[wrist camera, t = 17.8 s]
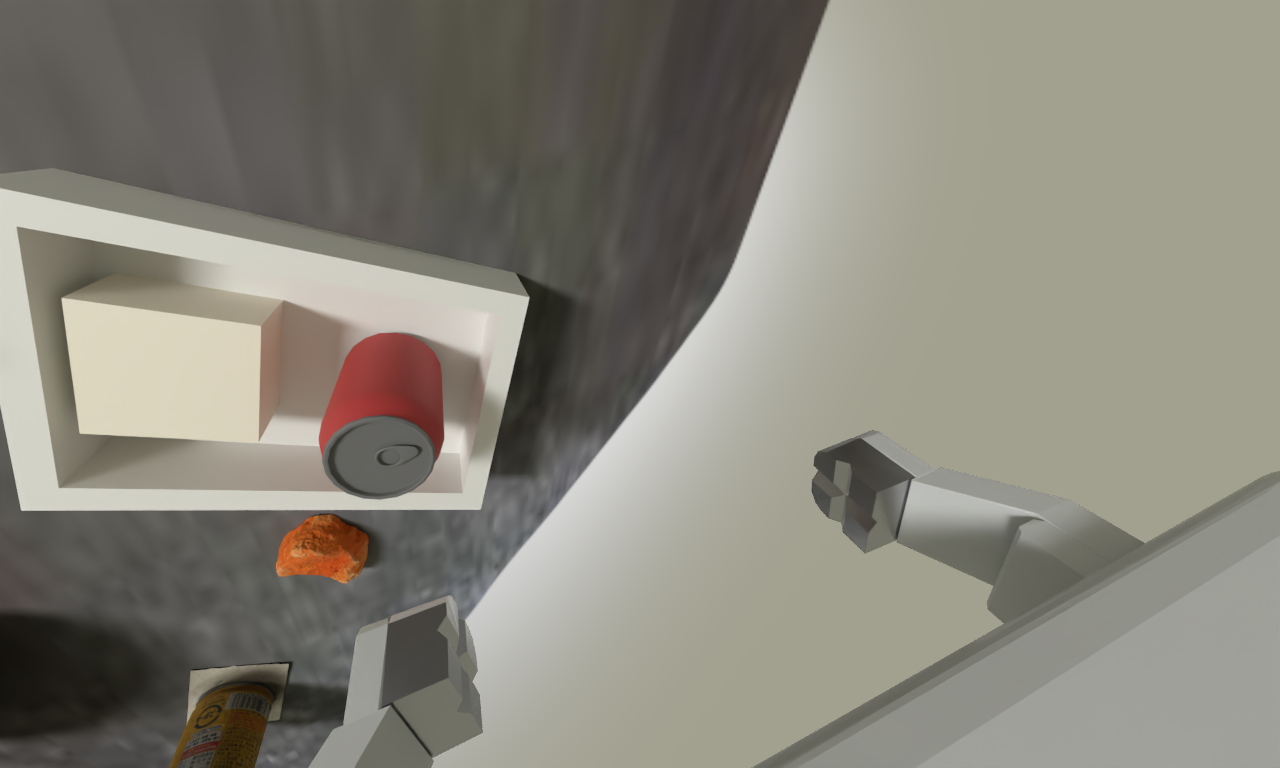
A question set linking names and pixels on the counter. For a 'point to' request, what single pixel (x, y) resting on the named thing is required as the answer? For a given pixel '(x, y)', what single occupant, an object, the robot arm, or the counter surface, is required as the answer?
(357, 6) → the counter surface
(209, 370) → the cream rectangular box
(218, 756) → the condiment
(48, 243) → the tray
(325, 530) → the rock
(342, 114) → the counter surface
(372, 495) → the beer can
